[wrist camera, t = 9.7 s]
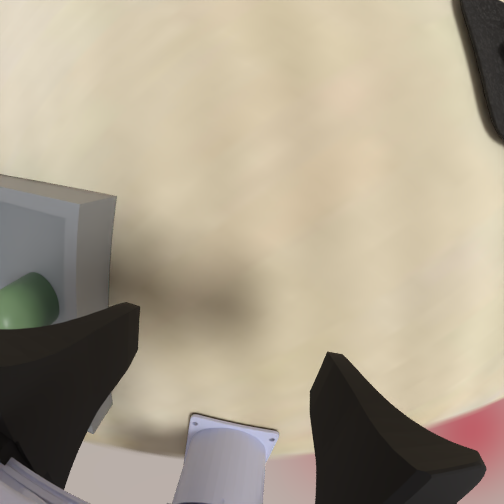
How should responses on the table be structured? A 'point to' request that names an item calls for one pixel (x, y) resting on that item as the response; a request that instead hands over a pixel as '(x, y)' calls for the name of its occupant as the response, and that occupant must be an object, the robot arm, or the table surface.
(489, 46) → the sushi plate
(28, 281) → the green rounded tapered piece
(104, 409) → the bin
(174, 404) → the table surface
